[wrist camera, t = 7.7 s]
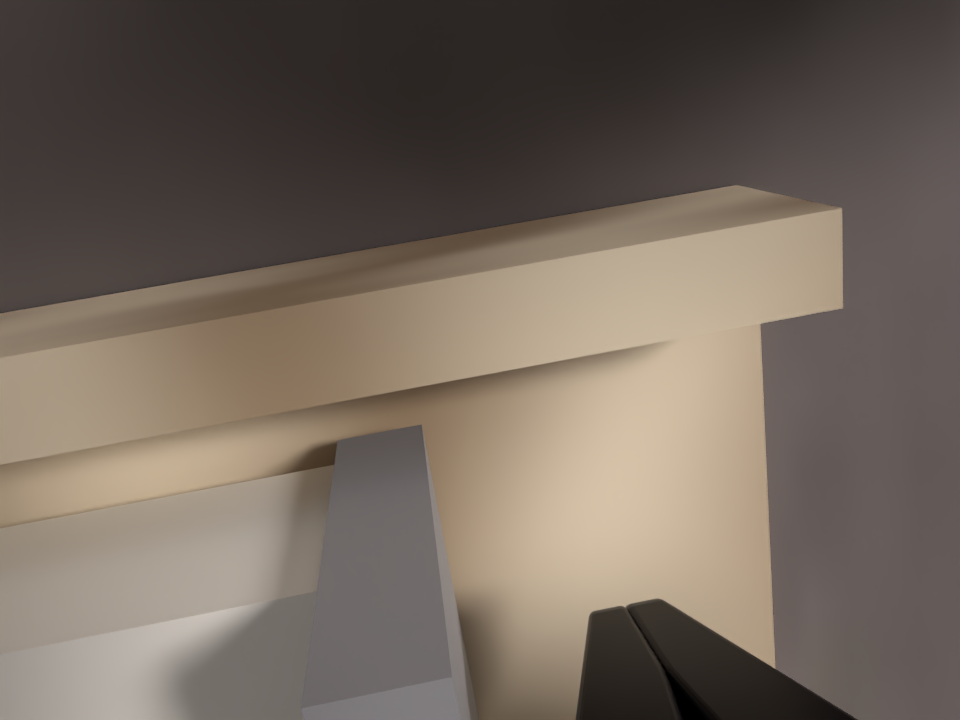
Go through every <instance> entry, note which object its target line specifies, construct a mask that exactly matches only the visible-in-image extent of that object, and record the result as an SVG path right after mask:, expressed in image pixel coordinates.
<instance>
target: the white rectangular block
mask: <svg viewBox="0 0 960 720" xmlns="http://www.w3.org/2000/svg"><path fill="white" fill-rule="evenodd" d="M0 720H479V717H478V712H477V707H476V702H475V697H474V692H473V687H472V681H471V676H470V671H469V666H468V661H467V656H466V650H465V645H464V640H463V635H462V630H461V625H460V619H459V614H458V609H457V604H456V599H455V594H454V588H453V583H452V578H451V573H450V568H449V563H448V557H447V552H446V547H445V542H444V537H443V532H442V526H441V521H440V516H439V511H438V506H437V501H436V496H435V490H434V485H433V480H432V475H431V470H430V465H429V459H428V454H427V449H426V444H425V439H424V434H423V428H422V424H421V425H415V426H410V427H405V428H400V429H394V430H389V431H384V432H378V433H373V434H368V435H362V436H357V437H352V438H347V439H341V440H338V442H337V449H336V456H335V464H334V465H330V466H325V467H320V468H314V469H309V470H304V471H299V472H294V473H288V474H283V475H278V476H273V477H267V478H262V479H257V480H252V481H246V482H241V483H236V484H231V485H225V486H220V487H215V488H210V489H204V490H199V491H194V492H189V493H183V494H178V495H173V496H168V497H162V498H157V499H152V500H147V501H142V502H136V503H131V504H126V505H121V506H115V507H110V508H105V509H100V510H94V511H89V512H84V513H79V514H73V515H68V516H63V517H58V518H52V519H47V520H42V521H37V522H31V523H26V524H21V525H16V526H11V527H5V528H0Z"/></svg>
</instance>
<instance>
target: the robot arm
mask: <svg viewBox="0 0 960 720" xmlns="http://www.w3.org/2000/svg"><path fill="white" fill-rule="evenodd" d="M576 720H857V719H856V718H854V717H853V716H851V715H849V714H848V713H846V712H844V711H843V710H841V709H840V708H838V707H836V706H835V705H833V704H831V703H830V702H828V701H827V700H825V699H823V698H822V697H820V696H819V695H817V694H815V693H814V692H812V691H810V690H809V689H807V688H806V687H804V686H802V685H801V684H799V683H797V682H796V681H794V680H793V679H791V678H789V677H788V676H786V675H784V674H783V673H781V672H780V671H778V670H776V669H775V668H773V667H772V666H770V665H768V664H767V663H765V662H763V661H762V660H760V659H759V658H757V657H755V656H754V655H752V654H750V653H749V652H747V651H746V650H744V649H742V648H741V647H739V646H737V645H736V644H734V643H733V642H731V641H729V640H728V639H726V638H725V637H723V636H721V635H720V634H718V633H716V632H715V631H713V630H712V629H710V628H708V627H707V626H705V625H703V624H702V623H700V622H699V621H697V620H695V619H694V618H692V617H690V616H689V615H687V614H686V613H684V612H682V611H681V610H679V609H678V608H676V607H674V606H673V605H671V604H669V603H668V602H666V601H664V600H662V599H659V598H657V599H651V600H646V601H641V602H636V603H631V604H628V605H627V606H626V607H624V606H616V607H611V608H606V609H601V610H595V611H593V612H591V613H590V615H589V619H588V627H587V635H586V642H585V650H584V658H583V666H582V674H581V681H580V689H579V697H578V705H577V713H576Z"/></svg>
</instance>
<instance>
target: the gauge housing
mask: <svg viewBox="0 0 960 720" xmlns="http://www.w3.org/2000/svg"><path fill="white" fill-rule="evenodd" d="M841 308H843V258H842V208H839V207H834V206H830V205H825V204H821V203H816V202H812V201H807V200H802V199H798V198H793V197H789V196H784V195H780V194H775V193H770V192H766V191H761V190H757V189H752V188H748V187H743V186H739V185H734V186H728V187H723V188H717V189H711V190H705V191H700V192H694V193H688V194H682V195H677V196H671V197H665V198H660V199H654V200H648V201H642V202H637V203H631V204H625V205H619V206H614V207H608V208H602V209H597V210H591V211H585V212H579V213H574V214H568V215H562V216H556V217H551V218H545V219H539V220H533V221H528V222H522V223H516V224H511V225H505V226H499V227H493V228H488V229H482V230H476V231H470V232H465V233H459V234H453V235H448V236H442V237H436V238H430V239H425V240H419V241H413V242H407V243H402V244H396V245H390V246H384V247H379V248H373V249H367V250H362V251H356V252H350V253H344V254H339V255H333V256H327V257H321V258H316V259H310V260H304V261H299V262H293V263H287V264H281V265H276V266H270V267H264V268H258V269H253V270H247V271H241V272H235V273H230V274H224V275H218V276H213V277H207V278H201V279H195V280H190V281H184V282H178V283H172V284H167V285H161V286H155V287H150V288H144V289H138V290H132V291H127V292H121V293H115V294H109V295H104V296H98V297H92V298H86V299H81V300H75V301H69V302H64V303H58V304H52V305H46V306H41V307H35V308H29V309H23V310H18V311H12V312H6V313H1V314H0V528H5V527H11V526H16V525H21V524H26V523H31V522H37V521H42V520H47V519H52V518H58V517H63V516H68V515H73V514H79V513H84V512H89V511H94V510H100V509H105V508H110V507H115V506H121V505H126V504H131V503H136V502H142V501H147V500H152V499H157V498H162V497H168V496H173V495H178V494H183V493H189V492H194V491H199V490H204V489H210V488H215V487H220V486H225V485H231V484H236V483H241V482H246V481H252V480H257V479H262V478H267V477H273V476H278V475H283V474H288V473H294V472H299V471H304V470H309V469H314V468H320V467H325V466H330V465H334V464H335V456H336V449H337V442H338V440H341V439H347V438H352V437H357V436H362V435H368V434H373V433H378V432H384V431H389V430H394V429H400V428H405V427H410V426H415V425H421V424H422V428H423V434H424V439H425V444H426V449H427V454H428V459H429V465H430V470H431V475H432V480H433V485H434V490H435V496H436V501H437V506H438V511H439V516H440V521H441V526H442V532H443V537H444V542H445V547H446V552H447V557H448V563H449V568H450V573H451V578H452V583H453V588H454V594H455V599H456V604H457V609H458V614H459V619H460V625H461V630H462V635H463V640H464V645H465V650H466V656H467V661H468V666H469V671H470V676H471V681H472V687H473V692H474V697H475V702H476V707H477V712H478V717H479V720H576V713H577V705H578V697H579V689H580V681H581V674H582V666H583V658H584V650H585V642H586V635H587V627H588V619H589V615H590V613H591V612H593V611H595V610H601V609H606V608H611V607H616V606H624V607H626V606H627V605H628V604H631V603H636V602H641V601H646V600H651V599H657V598H659V599H662V600H664V601H666V602H668V603H669V604H671V605H673V606H674V607H676V608H678V609H679V610H681V611H682V612H684V613H686V614H687V615H689V616H690V617H692V618H694V619H695V620H697V621H699V622H700V623H702V624H703V625H705V626H707V627H708V628H710V629H712V630H713V631H715V632H716V633H718V634H720V635H721V636H723V637H725V638H726V639H728V640H729V641H731V642H733V643H734V644H736V645H737V646H739V647H741V648H742V649H744V650H746V651H747V652H749V653H750V654H752V655H754V656H755V657H757V658H759V659H760V660H762V661H763V662H765V663H767V664H768V665H770V666H772V667H773V668H775V650H774V627H773V605H772V582H771V559H770V536H769V513H768V490H767V467H766V445H765V422H764V399H763V376H762V353H761V330H760V323H766V322H771V321H776V320H782V319H787V318H793V317H798V316H803V315H809V314H814V313H819V312H825V311H830V310H836V309H841Z"/></svg>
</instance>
